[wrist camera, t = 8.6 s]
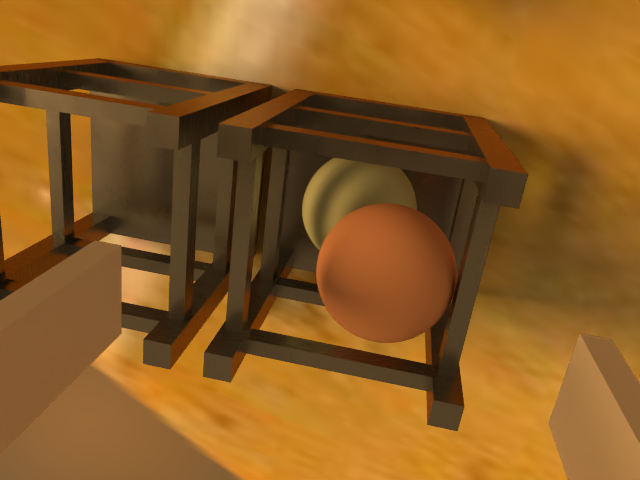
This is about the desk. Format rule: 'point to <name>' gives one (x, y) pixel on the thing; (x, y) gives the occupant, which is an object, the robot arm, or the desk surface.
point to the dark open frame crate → (299, 251)
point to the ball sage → (350, 193)
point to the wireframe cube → (140, 181)
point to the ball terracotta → (386, 272)
